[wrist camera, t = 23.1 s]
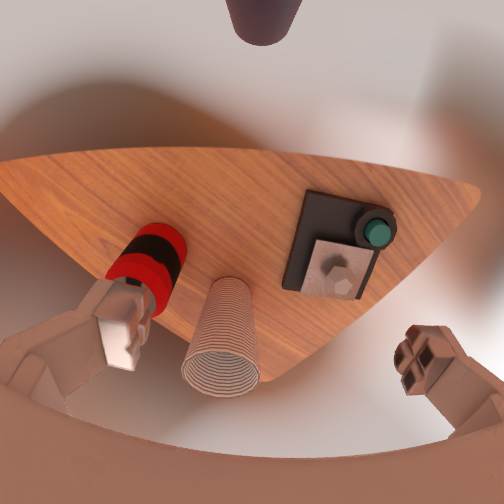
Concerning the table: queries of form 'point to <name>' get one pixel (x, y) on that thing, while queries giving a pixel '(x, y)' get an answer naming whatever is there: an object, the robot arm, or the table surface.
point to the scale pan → (330, 256)
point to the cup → (224, 343)
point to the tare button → (377, 232)
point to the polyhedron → (340, 280)
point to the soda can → (152, 263)
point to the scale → (333, 232)
